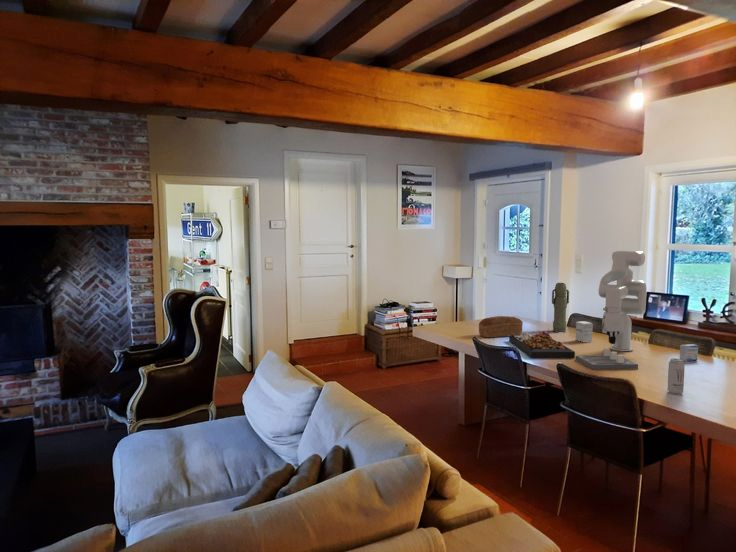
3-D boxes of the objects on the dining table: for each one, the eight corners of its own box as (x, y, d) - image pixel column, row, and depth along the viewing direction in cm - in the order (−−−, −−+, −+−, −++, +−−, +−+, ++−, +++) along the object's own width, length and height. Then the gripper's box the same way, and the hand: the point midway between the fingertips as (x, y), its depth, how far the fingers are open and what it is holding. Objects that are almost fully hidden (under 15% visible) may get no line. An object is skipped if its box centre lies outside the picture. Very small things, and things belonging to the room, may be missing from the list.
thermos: (570, 332, 359) (572, 283, 356) (555, 333, 357) (556, 283, 354) (563, 330, 368) (565, 282, 365) (548, 330, 366) (550, 282, 363)
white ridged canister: (575, 340, 332) (575, 321, 331) (584, 339, 334) (585, 321, 333) (582, 342, 325) (583, 323, 324) (592, 342, 327) (593, 322, 326)
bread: (525, 336, 347) (525, 317, 346) (484, 339, 339) (484, 319, 338) (515, 332, 358) (516, 314, 357) (476, 335, 351) (476, 316, 349)
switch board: (575, 360, 282) (575, 355, 281) (617, 359, 283) (617, 354, 282) (592, 369, 262) (593, 364, 261) (638, 369, 263) (638, 364, 262)
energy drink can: (674, 395, 220) (676, 361, 219) (664, 391, 226) (665, 358, 225) (686, 394, 221) (688, 361, 220) (675, 390, 227) (677, 357, 226)
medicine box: (686, 361, 277) (686, 346, 276) (679, 359, 281) (679, 344, 280) (697, 360, 279) (698, 345, 278) (690, 358, 283) (691, 343, 282)
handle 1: (603, 355, 280) (603, 348, 279) (608, 355, 280) (608, 348, 280) (604, 356, 278) (604, 349, 278) (609, 356, 278) (610, 349, 278)
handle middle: (609, 359, 273) (610, 351, 272) (615, 358, 273) (615, 351, 273) (611, 359, 271) (611, 352, 271) (616, 359, 271) (617, 352, 271)
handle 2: (616, 362, 266) (616, 354, 265) (622, 362, 266) (622, 354, 266) (618, 363, 264) (618, 355, 264) (623, 363, 264) (624, 355, 264)
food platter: (509, 342, 331) (509, 326, 330) (546, 342, 331) (547, 326, 330) (531, 359, 286) (531, 341, 285) (574, 359, 286) (575, 341, 285)
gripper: (602, 311, 266) (601, 345, 268) (630, 310, 266) (629, 344, 269) (595, 309, 273) (595, 342, 275) (622, 308, 274) (621, 341, 276)
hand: (612, 343), depth 272 cm, fingers closed
